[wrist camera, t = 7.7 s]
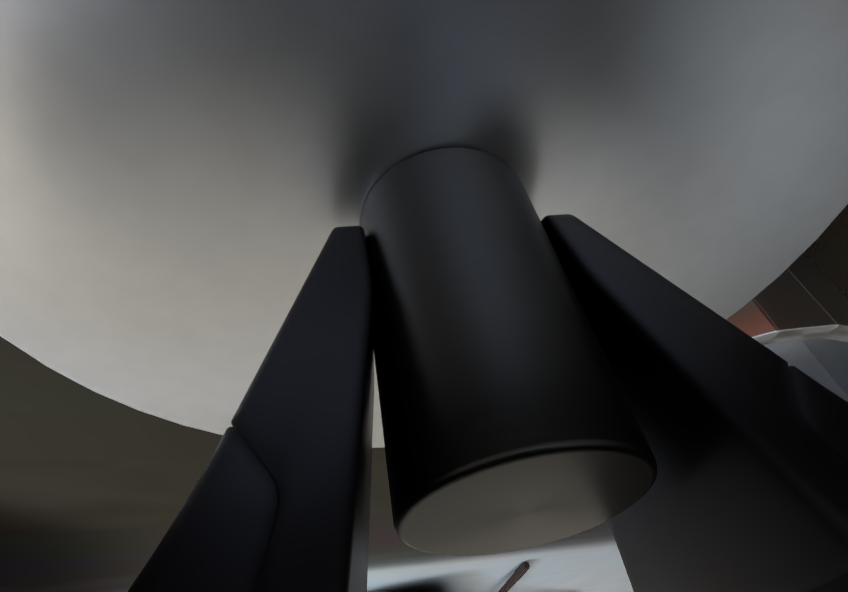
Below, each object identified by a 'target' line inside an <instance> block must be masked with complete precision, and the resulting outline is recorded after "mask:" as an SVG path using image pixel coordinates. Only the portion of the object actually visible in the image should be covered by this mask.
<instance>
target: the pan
mask: <svg viewBox="0 0 848 592" xmlns="http://www.w3.org/2000/svg"><path fill="white" fill-rule="evenodd" d="M726 320H727V321H729V322H730V323H732V324H733V325H735V326H736V327H737V328H739V329H740V330H742V331H743V332H745V333H746V334H748V335H749V336H751V337H752V338H754V339H755V340H756V341H758V342H759V343H761V344H762V345H764V346H765V347H767V348H768V349H770V350H771V351H773V352H774V353H775V354H777V355H778V356H780V357H781V358H783V359H784V360H786V361H787V363H788V366H795V367H796V368H798V369H799V370H801V371H802V372H804V373H805V374H806V375H808V376H809V377H811V378H812V379H814V380H815V381H817V382H818V383H820V384H821V385H822V386H824V387H826V388H827V389H829V390H830V391H832V392H833V393H835V394H836V395H838V396H839V397H841V398H842V399H844V400H845V401H847V402H848V299H847V298H846V297H845V296H844V295H843V294H842V293H841V292H840V291H839V290H838V289H837V288H836V287H835V286H834V285H833V284H832V283H831V282H830V281H829V279H828V278H827V277H826V276H825V275H824V274H823V273H822V272H821V271H820V270H819V269H818V268H817V267H816V266H815V265H814V264H813V263H812V262H811V261H810V260H809V259H808V258H807V257H806V255H805V254H804V253H802V254H801V255H800V256H799V257H798V258H797V259H796V260H795V261H794V262H793V263H792V264H791V265H790V266H789V267H788V268H787V269H786V270H785V271H784V272H783V273H782V274H781V275H780V276H779V277H778V278H777V279H775V280H774V281H773V282H772V283H771V284H769V285H768V286H767V287H766V288H765V289H764V290H762V291H761V292H760V293H759V294H758V295H757V296H755V297H754V298H753V299H752V300H751V301H750V302H748V303H747V304H746V305H745V306H744V307H742V308H741V309H740V310H738V311H737V312H736V313H734V314H733V315H732V316H730V317H729V318H728V319H726Z"/></svg>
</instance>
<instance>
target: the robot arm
mask: <svg viewBox="0 0 848 592" xmlns="http://www.w3.org/2000/svg"><path fill="white" fill-rule="evenodd" d="M541 223H542V225H543V227H544V229H545V231H546V233H547V235H548V237H549V240H550V242H551V244H552V246H553V248H554V250H555V252H556V254H557V256H558V258H559V260H560V262H561V264H562V266H563V269H564V271H565V273H566V275H567V277H568V279H569V281H570V283H571V285H572V287H573V289H574V291H575V293H576V295H577V298H578V300H579V302H580V304H581V306H582V308H583V310H584V312H585V314H586V316H587V318H588V320H589V322H590V324H591V326H592V329H593V331H594V333H595V335H596V337H597V339H598V341H599V343H600V345H601V347H602V349H603V351H604V353H605V355H606V358H607V360H608V362H609V364H610V366H611V368H612V370H613V372H614V374H615V376H616V378H617V380H618V382H619V384H620V387H621V389H622V391H623V393H624V395H625V397H626V399H627V401H628V403H629V405H630V407H631V409H632V411H633V413H634V415H635V418H636V420H637V422H638V424H639V426H640V428H641V430H642V432H643V434H644V436H645V438H646V440H647V442H648V444H649V447H650V449H651V451H652V453H653V455H654V457H655V459H656V464H657V476H656V480H655V482H654V484H653V486H652V487H651V488H650V489H649V491H648V492H647V493H646V494H645V495H644V496H643V497H642V498H641V499H640V500H638V501H637V502H636V503H634V504H633V505H632V506H630V507H629V508H627V509H626V510H624V511H623V512H621V513H620V514H618V515H616V516H614V517H613V518H611V519H609V520H608V521H609V524H610V526H611V529H612V532H613V535H614V538H615V540H616V543H617V546H618V549H619V551H620V554H621V557H622V560H623V563H624V565H625V568H626V571H627V574H628V577H629V579H630V582H631V585H632V588H633V590H634V592H848V402H847V401H845V400H844V399H842V398H841V397H839V396H838V395H836V394H835V393H833V392H832V391H830V390H829V389H827V388H826V387H824V386H822V385H821V384H820V383H818V382H817V381H815V380H814V379H812V378H811V377H809V376H808V375H806V374H805V373H804V372H802V371H801V370H799V369H798V368H796V367H795V366H788V363H787V361H786V360H784V359H783V358H781V357H780V356H778V355H777V354H775V353H774V352H773V351H771V350H770V349H768V348H767V347H765V346H764V345H762V344H761V343H759V342H758V341H756V340H755V339H754V338H752V337H751V336H749V335H748V334H746V333H745V332H743V331H742V330H740V329H739V328H737V327H736V326H735V325H733V324H732V323H730V322H729V321H727V320H726V319H724V318H723V317H721V316H720V315H718V314H717V313H716V312H714V311H713V310H711V309H710V308H708V307H707V306H705V305H704V304H702V303H701V302H699V301H698V300H697V299H695V298H694V297H692V296H691V295H689V294H688V293H686V292H685V291H683V290H682V289H680V288H679V287H678V286H676V285H675V284H673V283H672V282H670V281H669V280H667V279H666V278H664V277H663V276H661V275H660V274H659V273H657V272H656V271H654V270H653V269H651V268H650V267H648V266H647V265H645V264H644V263H642V262H641V261H640V260H638V259H637V258H635V257H634V256H632V255H631V254H629V253H628V252H626V251H625V250H623V249H622V248H620V247H619V246H618V245H616V244H615V243H613V242H612V241H610V240H609V239H607V238H606V237H604V236H603V235H601V234H600V233H599V232H597V231H596V230H594V229H593V228H591V227H590V226H588V225H587V224H585V223H584V222H582V221H581V220H580V219H578V218H577V217H575V216H573V215H571V214H560V215H547V216H545V217H544V218H543V219H542V220H541ZM373 409H374V349H373V292H372V278H371V272H370V265H369V258H368V252H367V245H366V238H365V232H364V229H363V227H361V226H344V227H335V228H334V229H333V230H332V232H331V233H330V235H329V237H328V239H327V241H326V243H325V245H324V246H323V248H322V250H321V252H320V254H319V256H318V258H317V260H316V262H315V263H314V265H313V267H312V269H311V271H310V273H309V275H308V277H307V279H306V280H305V282H304V284H303V286H302V288H301V290H300V292H299V294H298V296H297V298H296V299H295V301H294V303H293V305H292V307H291V309H290V311H289V313H288V315H287V316H286V318H285V320H284V322H283V324H282V326H281V328H280V330H279V332H278V333H277V335H276V337H275V339H274V341H273V343H272V345H271V347H270V349H269V350H268V352H267V354H266V356H265V358H264V360H263V362H262V364H261V366H260V367H259V369H258V371H257V373H256V375H255V377H254V379H253V381H252V383H251V384H250V386H249V388H248V390H247V392H246V394H245V396H244V398H243V400H242V401H241V403H240V405H239V407H238V409H237V411H236V413H235V415H234V417H233V419H232V421H231V424H232V427H228V428H227V429H226V431H225V433H224V435H223V437H222V439H221V441H220V442H219V444H218V446H217V448H216V450H215V452H214V454H213V456H212V458H211V459H210V461H209V463H208V465H207V466H206V468H205V470H204V472H203V473H202V475H201V477H200V479H199V480H198V482H197V484H196V486H195V487H194V489H193V491H192V493H191V494H190V496H189V498H188V500H187V501H186V503H185V505H184V507H183V508H182V510H181V511H180V513H179V514H178V516H177V517H176V519H175V520H174V522H173V524H172V525H171V527H170V528H169V530H168V531H167V533H166V534H165V536H164V538H163V539H162V541H161V542H160V544H159V545H158V547H157V548H156V550H155V552H154V553H153V555H152V556H151V558H150V559H149V561H148V562H147V564H146V565H145V567H144V568H143V570H142V571H141V573H140V574H139V576H138V577H137V578H136V580H135V581H134V583H133V584H132V586H131V587H130V589H129V590H128V592H367V569H368V542H369V515H370V489H371V462H372V435H373Z"/></svg>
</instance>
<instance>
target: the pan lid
mask: <svg viewBox="0 0 848 592" xmlns="http://www.w3.org/2000/svg"><path fill="white" fill-rule="evenodd" d="M847 204H848V0H0V336H1V337H3V338H4V339H6V340H7V341H9V342H10V343H12V344H13V345H15V346H16V347H18V348H19V349H21V350H22V351H24V352H26V353H27V354H29V355H30V356H32V357H33V358H35V359H36V360H38V361H39V362H41V363H42V364H44V365H45V366H47V367H49V368H51V369H52V370H54V371H56V372H58V373H60V374H62V375H64V376H66V377H68V378H69V379H71V380H73V381H75V382H77V383H79V384H81V385H83V386H85V387H86V388H88V389H90V390H92V391H94V392H96V393H99V394H101V395H103V396H106V397H108V398H110V399H113V400H115V401H117V402H120V403H122V404H125V405H127V406H129V407H132V408H134V409H136V410H139V411H142V412H145V413H148V414H151V415H154V416H157V417H160V418H163V419H166V420H169V421H172V422H175V423H178V424H181V425H184V426H188V427H192V428H196V429H200V430H204V431H208V432H212V433H216V434H220V435H224V433H225V431H226V429H227V428H228V427H232V424H231V421H232V419H233V417H234V415H235V413H236V411H237V409H238V407H239V405H240V403H241V401H242V400H243V398H244V396H245V394H246V392H247V390H248V388H249V386H250V384H251V383H252V381H253V379H254V377H255V375H256V373H257V371H258V369H259V367H260V366H261V364H262V362H263V360H264V358H265V356H266V354H267V352H268V350H269V349H270V347H271V345H272V343H273V341H274V339H275V337H276V335H277V333H278V332H279V330H280V328H281V326H282V324H283V322H284V320H285V318H286V316H287V315H288V313H289V311H290V309H291V307H292V305H293V303H294V301H295V299H296V298H297V296H298V294H299V292H300V290H301V288H302V286H303V284H304V282H305V280H306V279H307V277H308V275H309V273H310V271H311V269H312V267H313V265H314V263H315V262H316V260H317V258H318V256H319V254H320V252H321V250H322V248H323V246H324V245H325V243H326V241H327V239H328V237H329V235H330V233H331V232H332V230H333V229H334V228H335V227H344V226H361V227H363V229H364V232H365V238H366V245H367V252H368V258H369V265H370V272H371V278H372V292H373V349H374V409H373V435H372V448H382V447H385V453H386V462H387V471H388V479H389V488H390V497H391V505H392V514H393V522H394V529H395V530H396V532H397V534H398V536H399V538H400V539H401V540H402V541H403V542H404V543H405V544H407V545H408V546H410V547H412V548H415V549H417V550H420V551H424V552H428V553H435V554H442V555H454V556H470V555H486V554H495V553H503V552H509V551H515V550H521V549H525V548H530V547H534V546H538V545H542V544H546V543H550V542H553V541H557V540H560V539H563V538H566V537H569V536H572V535H575V534H577V533H580V532H583V531H585V530H588V529H590V528H592V527H595V526H597V525H599V524H601V523H603V522H605V521H607V520H609V519H611V518H613V517H614V516H616V515H618V514H620V513H621V512H623V511H624V510H626V509H627V508H629V507H630V506H632V505H633V504H634V503H636V502H637V501H638V500H640V499H641V498H642V497H643V496H644V495H645V494H646V493H647V492H648V491H649V489H650V488H651V487H652V486H653V484H654V482H655V480H656V476H657V464H656V459H655V457H654V455H653V453H652V451H651V449H650V447H649V444H648V442H647V440H646V438H645V436H644V434H643V432H642V430H641V428H640V426H639V424H638V422H637V420H636V418H635V415H634V413H633V411H632V409H631V407H630V405H629V403H628V401H627V399H626V397H625V395H624V393H623V391H622V389H621V387H620V384H619V382H618V380H617V378H616V376H615V374H614V372H613V370H612V368H611V366H610V364H609V362H608V360H607V358H606V355H605V353H604V351H603V349H602V347H601V345H600V343H599V341H598V339H597V337H596V335H595V333H594V331H593V329H592V326H591V324H590V322H589V320H588V318H587V316H586V314H585V312H584V310H583V308H582V306H581V304H580V302H579V300H578V298H577V295H576V293H575V291H574V289H573V287H572V285H571V283H570V281H569V279H568V277H567V275H566V273H565V271H564V269H563V266H562V264H561V262H560V260H559V258H558V256H557V254H556V252H555V250H554V248H553V246H552V244H551V242H550V240H549V237H548V235H547V233H546V231H545V229H544V227H543V225H542V223H541V220H542V219H543V218H544V217H545V216H547V215H560V214H571V215H573V216H575V217H577V218H578V219H580V220H581V221H582V222H584V223H585V224H587V225H588V226H590V227H591V228H593V229H594V230H596V231H597V232H599V233H600V234H601V235H603V236H604V237H606V238H607V239H609V240H610V241H612V242H613V243H615V244H616V245H618V246H619V247H620V248H622V249H623V250H625V251H626V252H628V253H629V254H631V255H632V256H634V257H635V258H637V259H638V260H640V261H641V262H642V263H644V264H645V265H647V266H648V267H650V268H651V269H653V270H654V271H656V272H657V273H659V274H660V275H661V276H663V277H664V278H666V279H667V280H669V281H670V282H672V283H673V284H675V285H676V286H678V287H679V288H680V289H682V290H683V291H685V292H686V293H688V294H689V295H691V296H692V297H694V298H695V299H697V300H698V301H699V302H701V303H702V304H704V305H705V306H707V307H708V308H710V309H711V310H713V311H714V312H716V313H717V314H718V315H720V316H721V317H723V318H724V319H728V318H729V317H730V316H732V315H733V314H734V313H736V312H737V311H738V310H740V309H741V308H742V307H744V306H745V305H746V304H747V303H748V302H750V301H751V300H752V299H753V298H754V297H755V296H757V295H758V294H759V293H760V292H761V291H762V290H764V289H765V288H766V287H767V286H768V285H769V284H771V283H772V282H773V281H774V280H775V279H777V278H778V277H779V276H780V275H781V274H782V273H783V272H784V271H785V270H786V269H787V268H788V267H789V266H790V265H791V264H792V263H793V262H794V261H795V260H796V259H797V258H798V257H799V256H800V255H801V254H802V253H803V252H804V251H805V250H806V249H807V248H809V247H810V246H811V245H812V244H813V243H814V242H815V241H816V240H817V239H818V237H819V236H820V235H821V234H822V233H823V232H824V231H825V229H826V228H827V227H828V226H829V225H830V224H831V223H832V221H833V220H834V219H835V218H836V217H837V216H838V215H839V213H840V212H841V211H842V210H843V209H844V208H845V207H846V205H847Z"/></svg>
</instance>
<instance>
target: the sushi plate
mask: <svg viewBox="0 0 848 592" xmlns="http://www.w3.org/2000/svg"><path fill="white" fill-rule="evenodd" d="M529 567H530V566H529V563H528V562H525V563H523V564H522V565H521V566H520V567H519V568H518V569H517V570H516V571H515V573H514V574H513V575H512V576H511V577H510V578H509V580H508V581H507V582H506V583H505V584H504V586H503V587H502V588H501V589H500V590H499V592H508V590H509V589H510V588H511V587H512V586H513V585H514V584H515V583H516V582H517V581H518V580H519V579H520V578H521V577H522V576H523V575H524V574H525V573H526V572H527V570H528V569H529ZM405 592H419V591H405Z"/></svg>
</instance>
